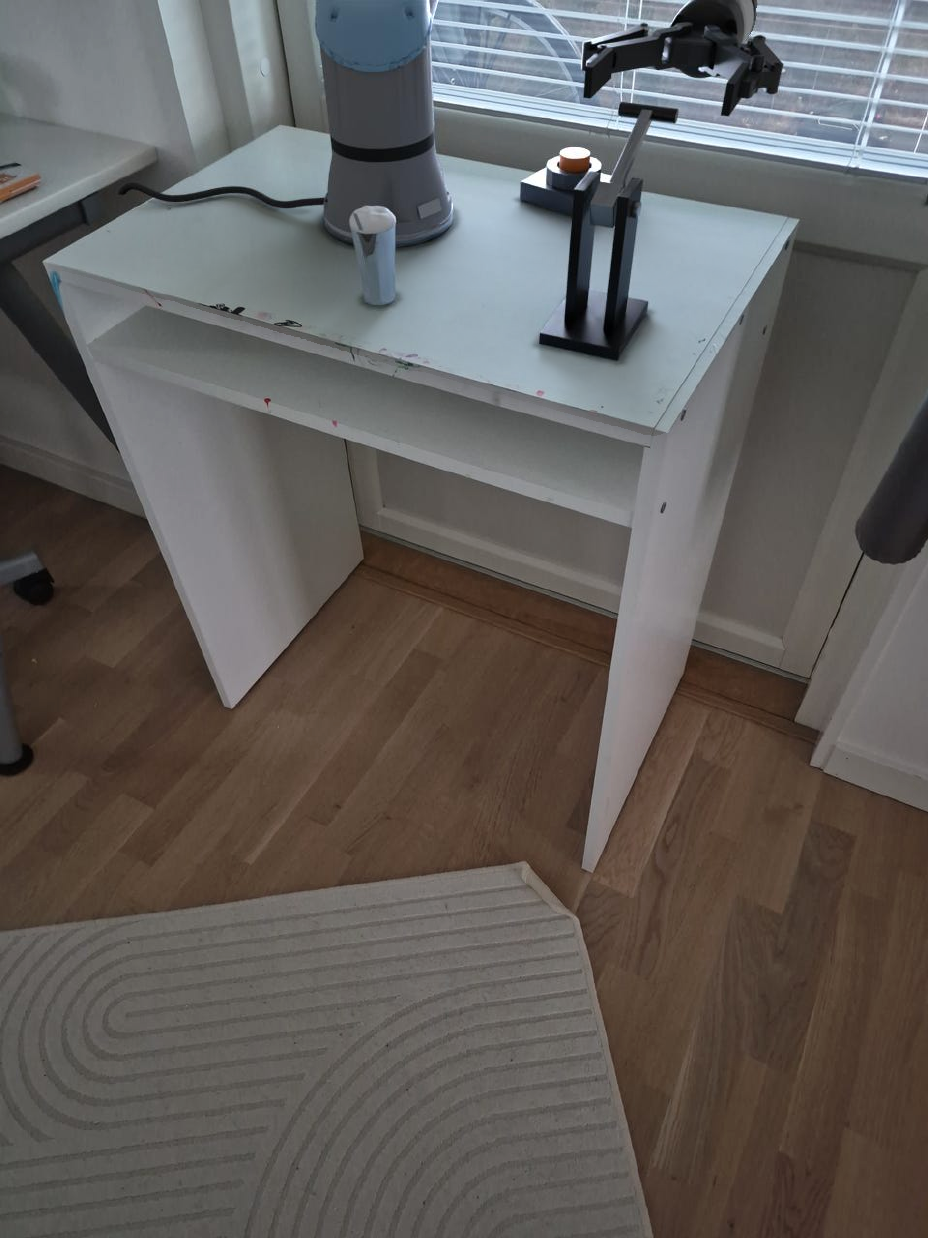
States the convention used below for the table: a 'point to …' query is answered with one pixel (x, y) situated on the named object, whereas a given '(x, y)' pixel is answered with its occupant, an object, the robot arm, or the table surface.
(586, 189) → the stand
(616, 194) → the switch lever
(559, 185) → the control block
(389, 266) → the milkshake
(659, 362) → the table surface
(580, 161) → the button
